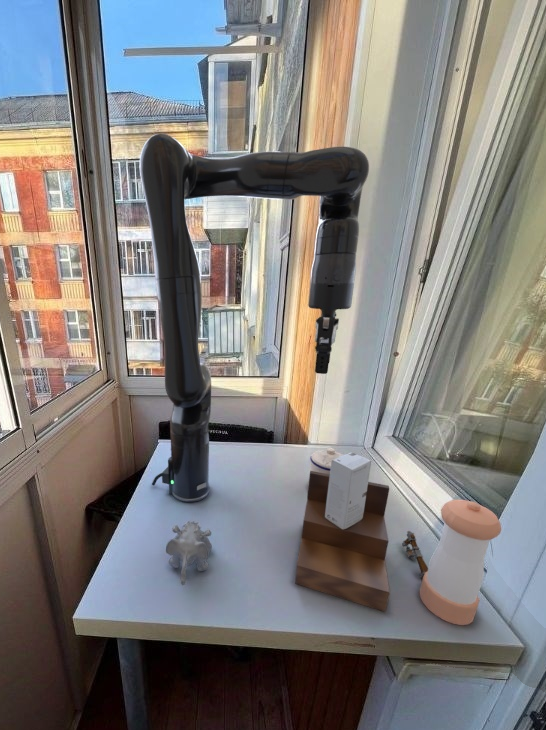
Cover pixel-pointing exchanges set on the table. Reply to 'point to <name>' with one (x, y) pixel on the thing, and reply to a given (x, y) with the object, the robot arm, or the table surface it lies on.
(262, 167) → the robot arm
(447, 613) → the salt shaker
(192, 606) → the table surface
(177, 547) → the elephant statuette
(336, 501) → the cosmetic box
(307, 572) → the shelf riser
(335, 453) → the teacup with lid
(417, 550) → the wooden post with brackets
